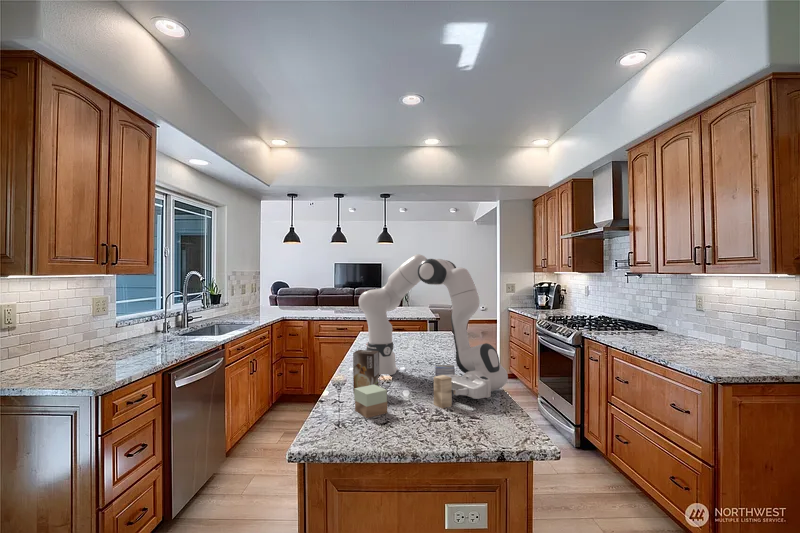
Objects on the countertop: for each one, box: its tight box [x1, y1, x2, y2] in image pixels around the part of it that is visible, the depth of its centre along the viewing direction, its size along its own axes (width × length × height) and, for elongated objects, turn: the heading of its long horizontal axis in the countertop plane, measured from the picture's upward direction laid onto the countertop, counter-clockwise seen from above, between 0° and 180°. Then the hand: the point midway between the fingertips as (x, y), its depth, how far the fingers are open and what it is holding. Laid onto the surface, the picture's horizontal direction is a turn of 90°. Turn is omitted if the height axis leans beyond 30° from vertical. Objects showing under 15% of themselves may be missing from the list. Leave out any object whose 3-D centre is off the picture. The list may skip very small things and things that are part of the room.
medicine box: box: [434, 364, 456, 377], centre depth 164 cm, size 8×4×9 cm, turn 84°
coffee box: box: [352, 349, 380, 394], centre depth 157 cm, size 9×6×16 cm
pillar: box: [433, 375, 453, 409], centre depth 142 cm, size 4×4×10 cm
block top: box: [353, 384, 388, 407], centre depth 136 cm, size 8×8×4 cm
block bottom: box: [354, 400, 388, 419], centre depth 136 cm, size 8×8×4 cm
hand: (445, 389), depth 143 cm, fingers open, 8 cm apart
